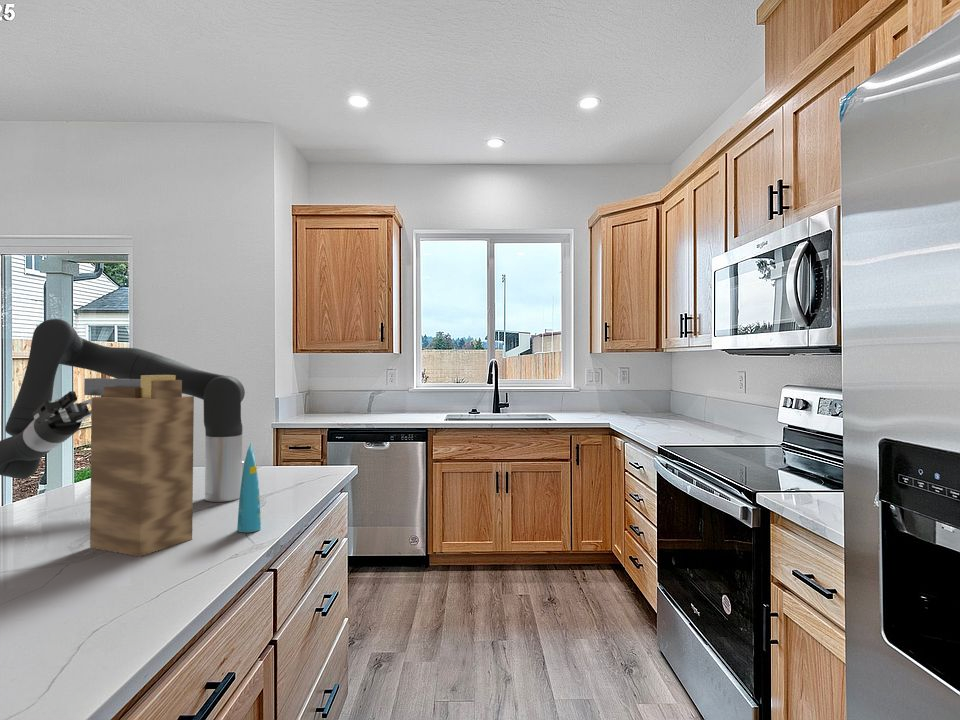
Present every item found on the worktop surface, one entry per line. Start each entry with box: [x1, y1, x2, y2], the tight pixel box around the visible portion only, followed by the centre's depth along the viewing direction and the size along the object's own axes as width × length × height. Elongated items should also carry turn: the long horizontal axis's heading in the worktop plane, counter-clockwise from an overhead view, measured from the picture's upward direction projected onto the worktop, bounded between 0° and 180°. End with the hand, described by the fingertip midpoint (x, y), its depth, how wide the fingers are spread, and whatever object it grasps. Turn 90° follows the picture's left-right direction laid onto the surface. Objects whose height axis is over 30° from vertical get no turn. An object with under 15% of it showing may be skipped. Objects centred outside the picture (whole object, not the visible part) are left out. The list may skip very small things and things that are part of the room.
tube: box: [236, 441, 262, 533], centre depth 129 cm, size 7×5×19 cm, turn 26°
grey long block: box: [83, 375, 176, 398], centre depth 121 cm, size 6×21×4 cm, turn 68°
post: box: [89, 380, 195, 557], centre depth 119 cm, size 12×14×34 cm
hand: (94, 393), depth 124 cm, fingers open, 8 cm apart
